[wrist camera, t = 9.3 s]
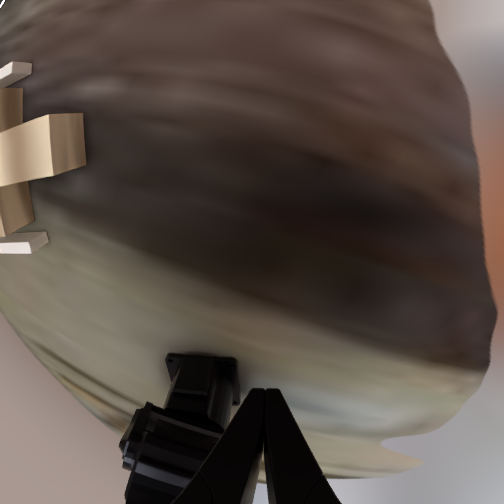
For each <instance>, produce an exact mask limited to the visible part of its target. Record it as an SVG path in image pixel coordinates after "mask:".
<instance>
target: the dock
mask: <svg viewBox="0 0 504 504" xmlns="http://www.w3.org/2000/svg"><path fill="white" fill-rule="evenodd" d="M31 73H32V63H24V62H11V63H9V64H8V65H6V66H4V67H3V68H1V69H0V88H5V87H7V86H9V85H11V84H13V83H14V82H16V81H18V80H20V79H22V78H24V77H26V76H28V75H30V74H31ZM48 242H49V241H48V236H47V232H46V231H44V232H25V233H11V234H9V235H8V236H6V237H0V253H19V254H32V253H34V252H35V251H36V250H38V249H39V248H41V247H42V246H44V245H45V244H47V243H48Z"/></svg>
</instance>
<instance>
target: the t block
mask: <svg viewBox="0 0 504 504" xmlns="http://www.w3.org/2000/svg"><path fill="white" fill-rule="evenodd" d="M85 165H86V154H85V142H84V125H83V113H66V114H48V115H45V116H43V117H40V118H37V119H34V120H31V121H29V122H26V123H23V88H0V237H6V236H8V235H9V234H11V233H13V232H15V231H16V230H18V229H20V228H22V227H23V226H25V225H27V224H29V223H31V222H32V221H34V220H35V219H34V214H33V208H32V203H31V197H30V191H29V184H28V180H33V179H38V178H43V177H48V176H54V175H57V174H60V173H63V172H66V171H69V170H72V169H75V168H79V167H82V166H85Z"/></svg>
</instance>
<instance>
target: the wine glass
mask: <svg viewBox="0 0 504 504" xmlns="http://www.w3.org/2000/svg"><path fill="white" fill-rule="evenodd" d="M5 1H6V0H0V9H1V8H2V6H3V4H4V3H5Z"/></svg>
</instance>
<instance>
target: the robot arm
mask: <svg viewBox="0 0 504 504" xmlns="http://www.w3.org/2000/svg"><path fill="white" fill-rule="evenodd" d="M171 359H172V360H171ZM165 361H166V364H167V368H168V371H169V375H170V378H171V381H172V384H171V386H170V389H169V392H168V395H167V398H166V401H165V404H164V407H163V408H160V407H157V406H155V405H153V404H152V403H150V402H146V405H145V407H144V408H141V409H136V411H135V414H134V416H133V418H132V421H131V423H130V425H129V427H128V429H127V430H126V432H125V434H124V435H123V437H122V439H121V441H120V443H119V448H120V450H121V452H122V454H123V457H122V459H123V460H124V461H123V466H122V467H123V469H126V470H128V471H131V474H130V477H129V480H128V484H127V487H126V491H125V499H126V504H252V503H253V499H254V494H255V489H256V484H257V480H258V475H259V470H260V465H261V460H262V454H263V445H264V462H265V472H266V482H267V491H268V500H269V504H342V503H341V502H340V501H339V499H338V498H337V496H336V495H335V493H334V491H333V490H332V488H331V486H330V485H329V483H328V481H327V479H326V477H325V476H324V475H323V472H322V470H321V469H320V467H319V465H318V463H317V461H316V459H315V457H314V455H313V453H312V452H311V450H310V448H309V446H308V444H307V442H306V440H305V438H304V436H303V434H302V432H301V430H300V429H299V427H298V425H297V423H296V421H295V419H294V417H293V415H292V413H291V411H290V409H289V407H288V405H287V403H286V401H285V399H284V397H283V395H282V393H281V391H280V390H279V389H277V388H267V389H266V391H265V389H264V388H252V389H251V390H250V392H249V393H248V395H247V396H246V398H245V400H244V401H243V403H242V404H241V406H240V408H239V409H238V411H237V412H236V414H235V416H234V417H233V419H232V420H231V422H230V423H229V420H230V413H231V407H232V405H233V406H237V405H239V404H240V389H239V377H238V365H237V361H236V360H235V359H233V358H217V357H201V356H188V355H177V354H168V355H167V356H166V358H165ZM230 363H232V364H230Z"/></svg>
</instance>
